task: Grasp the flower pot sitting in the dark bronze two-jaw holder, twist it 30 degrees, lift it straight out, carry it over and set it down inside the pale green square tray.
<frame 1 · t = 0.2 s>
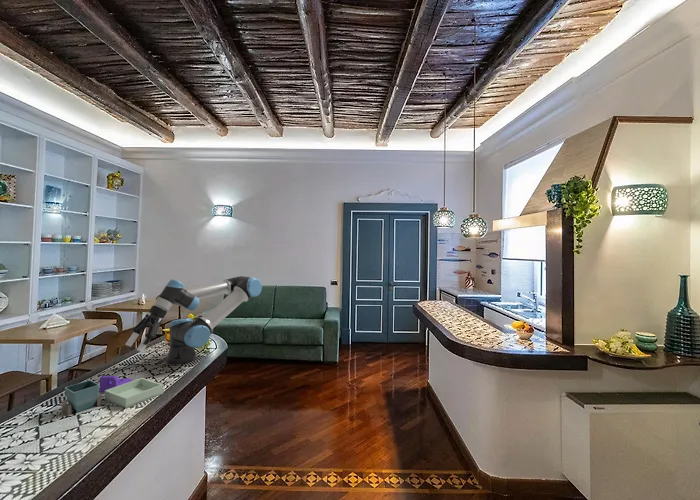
hand: (133, 348, 161), 16 cm above the worktop, tool tilted 35°, fingers open, 13 cm apart
flower pot: (82, 408, 136), on the worktop
bracket: (116, 387, 156), on the worktop
holder: (82, 408, 136), on the worktop
pale green square tray: (134, 396, 146), on the worktop
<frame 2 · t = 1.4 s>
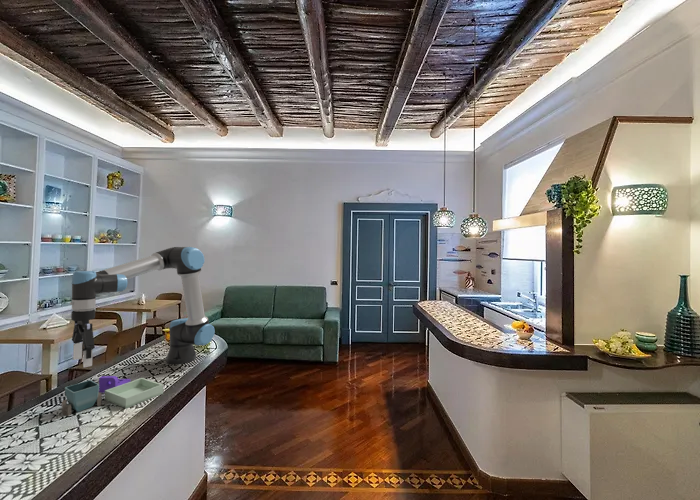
hand: (82, 362, 136), 18 cm above the worktop, tool pointing down, fingers open, 13 cm apart
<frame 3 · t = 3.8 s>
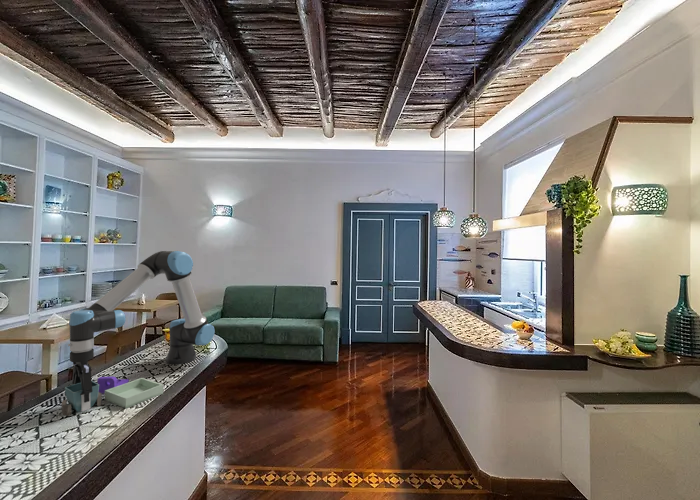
hand: (82, 405, 136), 1 cm above the worktop, tool pointing down, fingers closed on flower pot, 9 cm apart
flower pot: (82, 408, 136), on the worktop, touching gripper
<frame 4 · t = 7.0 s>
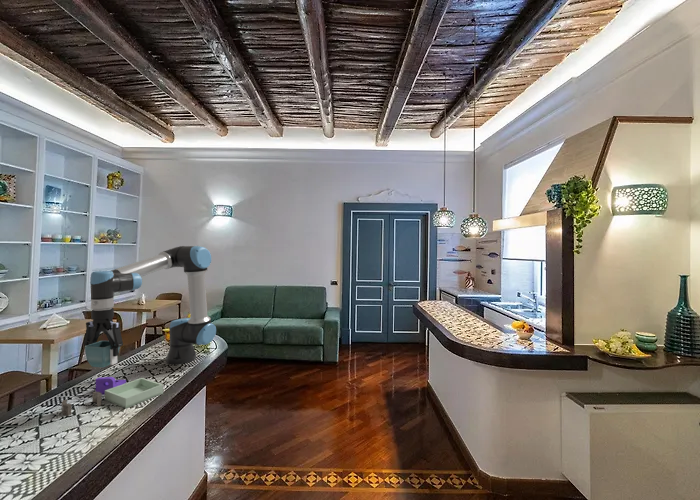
hand: (103, 363, 140), 17 cm above the worktop, tool pointing down, fingers closed on flower pot, 9 cm apart
flower pot: (102, 366, 139), point 15 cm above the worktop, touching gripper
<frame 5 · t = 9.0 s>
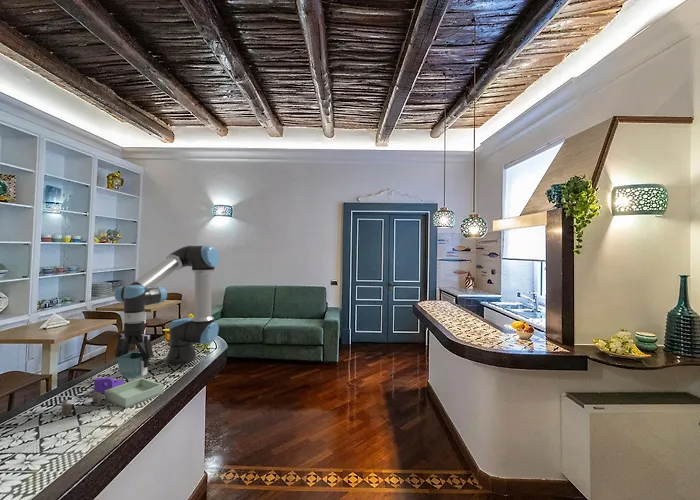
hand: (134, 374, 146), 10 cm above the worktop, tool pointing down, fingers closed on flower pot, 9 cm apart
flower pot: (133, 376, 145), point 9 cm above the worktop, touching gripper
when the fingers open (4 cm above the worktop, at t = 10.5 s): flower pot drops 3 cm, resting on pale green square tray.
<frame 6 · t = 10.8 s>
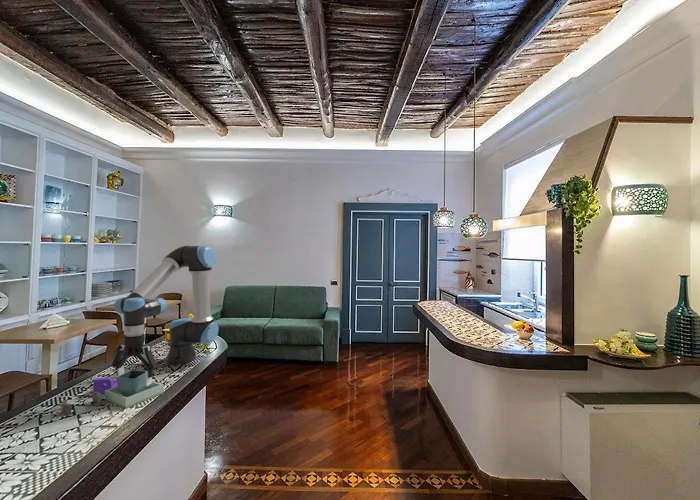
hand: (134, 383, 146), 6 cm above the worktop, tool pointing down, fingers open, 12 cm apart
flower pot: (133, 395, 146), point 1 cm above the worktop, touching pale green square tray
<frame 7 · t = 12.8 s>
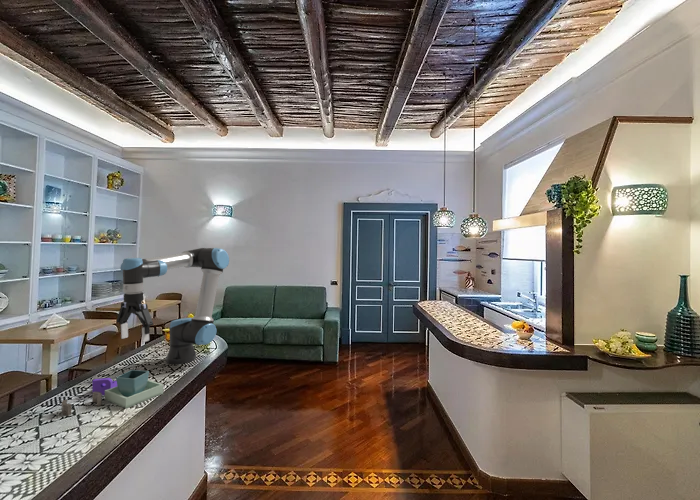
hand: (135, 339, 153), 23 cm above the worktop, tool pointing down, fingers open, 13 cm apart
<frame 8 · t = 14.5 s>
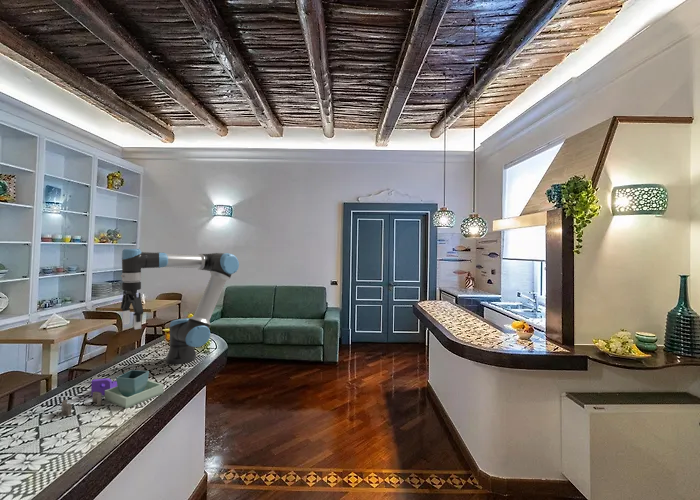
hand: (131, 326, 160), 27 cm above the worktop, tool pointing down, fingers open, 13 cm apart
at the end: flower pot inside the target area on the pale green square tray (0.7 cm from its centre), point 0.6 cm above the pale green square tray's base; flower pot tilted 0°; the gripper is holding nothing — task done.
